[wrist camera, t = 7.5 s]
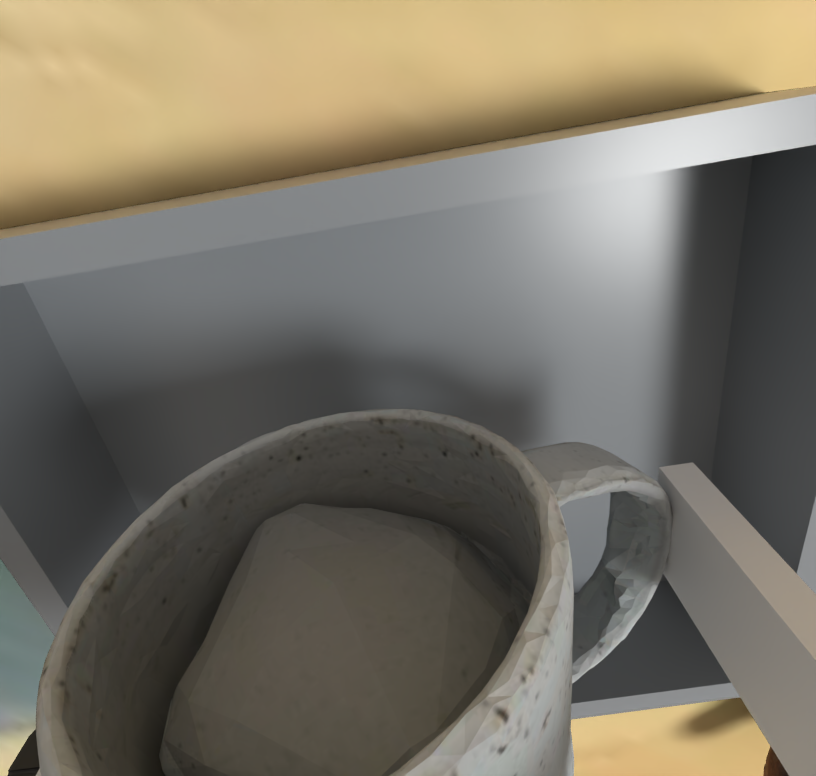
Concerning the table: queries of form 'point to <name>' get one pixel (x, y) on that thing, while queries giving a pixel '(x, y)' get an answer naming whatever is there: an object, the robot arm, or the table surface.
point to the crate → (439, 338)
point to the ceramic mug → (351, 609)
